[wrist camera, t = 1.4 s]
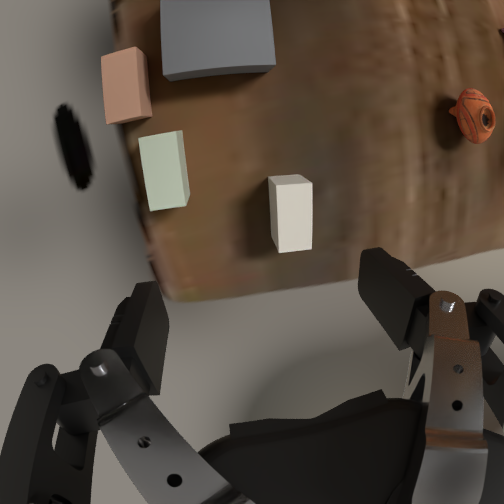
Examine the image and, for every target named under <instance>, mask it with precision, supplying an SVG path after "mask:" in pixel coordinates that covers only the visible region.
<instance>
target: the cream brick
mask: <svg viewBox="0 0 504 504" xmlns="http://www.w3.org/2000/svg"><path fill="white" fill-rule="evenodd" d="M268 184H269V201H270V220H271V237H272V239H273V241H274V243H275V245H276V248H277V250H278V252H279V253H283V252H291V251H300V250H308V249H312V183H311V182H310V181H309V180H307V179H306V178H304V177H303V176H301V175H300V174H299V175H284V176H270V177H268Z"/></svg>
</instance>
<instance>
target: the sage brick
mask: <svg viewBox="0 0 504 504" xmlns="http://www.w3.org/2000/svg"><path fill="white" fill-rule="evenodd" d="M138 139H139V147H140V154H141V161H142V167H143V174H144V180H145V186H146V191H147V197H148V202H149V208H150V211H154V210H161V209H167V208H174V207H181V206H186V204H187V201H188V199H189V196H190V190H189V183H188V175H187V168H186V160H185V152H184V143H183V134H182V130H180V131H174V132H168V133H162V134H157V135H152V136H147V137H142V138H138Z"/></svg>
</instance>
